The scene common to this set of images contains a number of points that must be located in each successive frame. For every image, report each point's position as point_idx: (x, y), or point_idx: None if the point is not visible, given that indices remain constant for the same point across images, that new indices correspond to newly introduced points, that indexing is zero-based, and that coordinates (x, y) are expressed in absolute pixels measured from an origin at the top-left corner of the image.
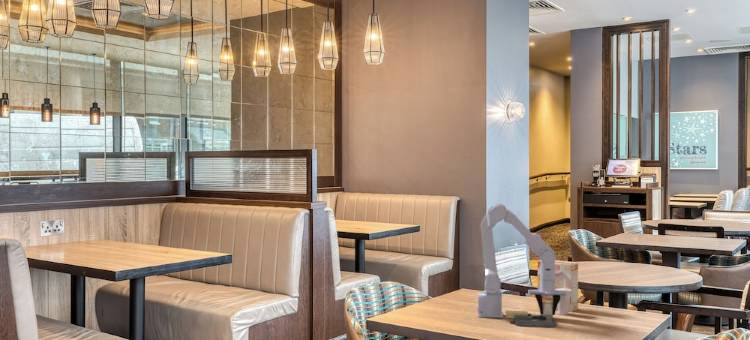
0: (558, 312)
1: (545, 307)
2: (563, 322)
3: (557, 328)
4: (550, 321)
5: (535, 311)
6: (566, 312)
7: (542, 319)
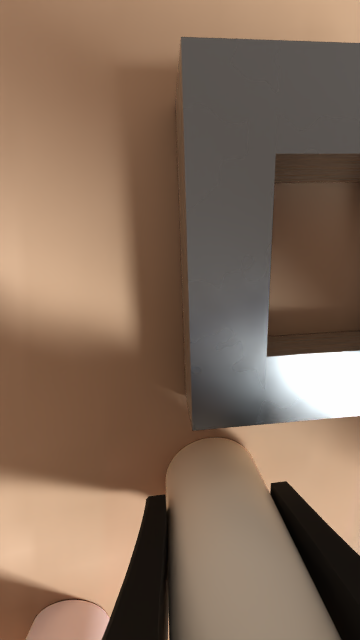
0: None
1: (289, 573)
2: (69, 349)
3: (142, 34)
4: (242, 45)
5: None
6: (34, 636)
7: (285, 341)
